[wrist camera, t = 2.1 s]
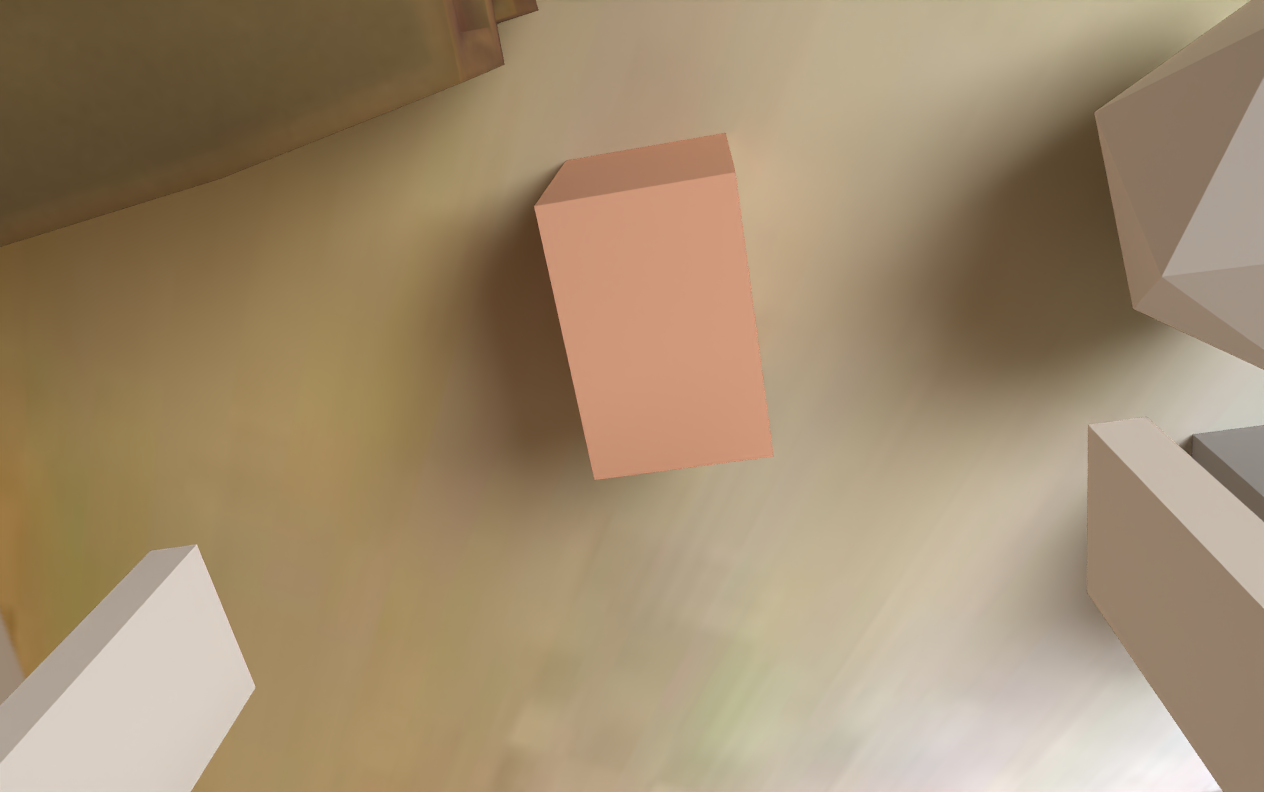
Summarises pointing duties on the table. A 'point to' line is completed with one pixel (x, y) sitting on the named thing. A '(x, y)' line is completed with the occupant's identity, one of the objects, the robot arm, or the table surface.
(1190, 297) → the die
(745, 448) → the salmon pink block
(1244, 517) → the robot arm
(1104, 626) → the table surface
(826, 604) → the table surface
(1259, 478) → the gray rectangular block
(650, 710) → the table surface
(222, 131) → the wooden toy train
